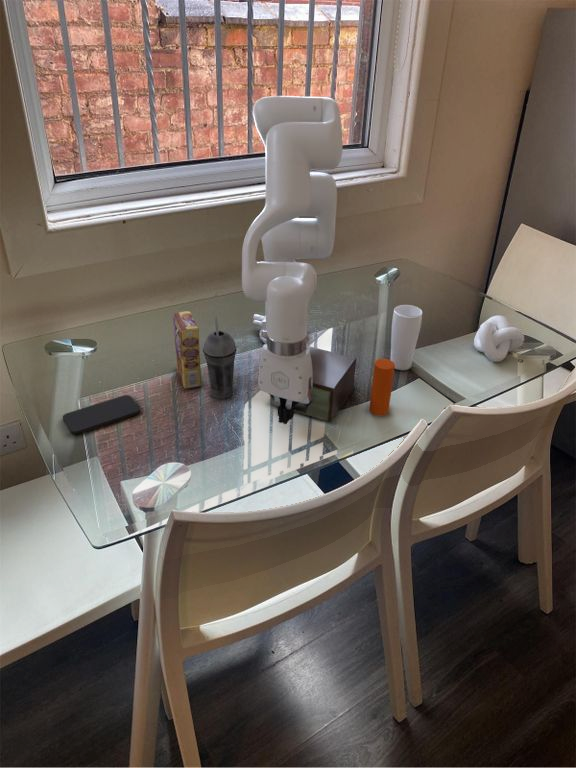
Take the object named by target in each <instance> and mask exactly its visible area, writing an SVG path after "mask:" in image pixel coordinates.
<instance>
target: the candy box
mask: <svg viewBox="0 0 576 768" xmlns="http://www.w3.org/2000/svg"><path fill="white" fill-rule="evenodd" d="M172 319H173V333H174V346H175V359H176V369H177V373H178V375H179V378H180V381H181V382H182V386H183V389H192V388H198V387H202V374H201V373H202V372H201V353H200V333H199V331H200V330H199V327H198V324H197V322H196V321H195V318H194V316H193V315H192V312H191V311H179V312H175V313H172Z"/></svg>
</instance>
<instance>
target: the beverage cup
mask: <svg viewBox="0 0 576 768" xmlns="http://www.w3.org/2000/svg"><path fill="white" fill-rule="evenodd" d="M214 324H215V325H214V326H215V331H213V332H211V333H210V334H209V335H208V336H206V339H205V341H204V342H203V348H202V352H203V356H204V359H205V361H206V367H207V374H208V380H209V386H210V391H211V395H212V396H213V397H214V398H216V399H219V400H224V399H228V398H230V397H231V396H232V394H233V388H234V387H233V386H234V371H235V358H236V354H237V350H238V349H237V346H236V341H235V339H234V338H233V336H231V334H229V333H228V332H226V331H223V330H219V324H218V317H217V315H216V316H214Z"/></svg>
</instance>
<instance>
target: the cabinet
mask: <svg viewBox="0 0 576 768" xmlns="http://www.w3.org/2000/svg"><path fill="white" fill-rule="evenodd" d="M307 348H309V350H310V355H311V361H312V372H313V386H315V387H318V388H322V389H326V390H329V391H331V395H330V409H329V418H328V420H327V422H332V421H333V420H334V419H335V418H336V416H337V415H338V414H339V412H340V410H341V408H342V407H343V406H344V405H345V403H346V402H347V400H348V399H349V397H350V396H351V394H352V393H353V391H354V390H355V389H354V387H355V377H356V366H357V357H353V356H349V355H345V354H342V353H338V352H333V351H329V350H325V349H321V348H318V347H313V346H309V345H307Z"/></svg>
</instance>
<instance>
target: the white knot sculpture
mask: <svg viewBox="0 0 576 768" xmlns="http://www.w3.org/2000/svg"><path fill="white" fill-rule="evenodd" d="M497 328H498V329H497ZM524 342H525V334H524V333H523V331H522V330H521V329H519V328H518V327H515V326H511V321H510V320H509V319H508V317H505V316H504V315H499V314H498V315H493V316H491V317H489V318H487V319H486V320H485V321H484V322H483V323H481V324H480V326H479V327H478V330H477V331H476V333H475V336H474V340H473V345H474V348H475V349H476V351H478V352H480V353H484V355H485V356H486V358H487V359H488V360H489V361H492V362H494V363H498V362H499V363H500V362H502V361H503V360H504V359H506V357H507V356H508V354H509V352H513V351H514V352H515V351H517V350H518V349H519V348H520V347H522V346H523V344H524Z"/></svg>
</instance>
